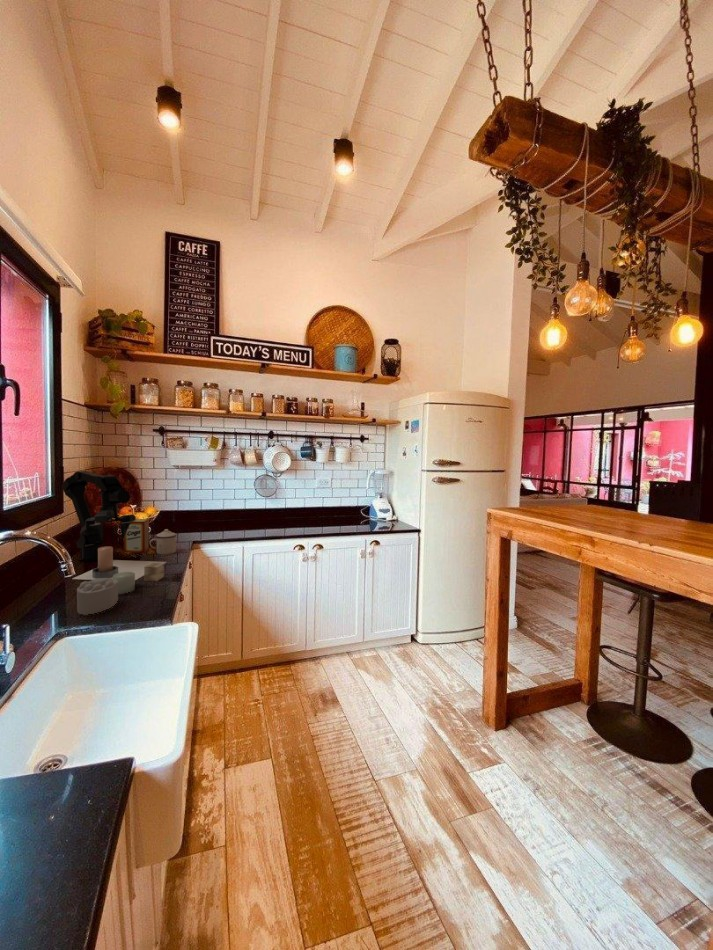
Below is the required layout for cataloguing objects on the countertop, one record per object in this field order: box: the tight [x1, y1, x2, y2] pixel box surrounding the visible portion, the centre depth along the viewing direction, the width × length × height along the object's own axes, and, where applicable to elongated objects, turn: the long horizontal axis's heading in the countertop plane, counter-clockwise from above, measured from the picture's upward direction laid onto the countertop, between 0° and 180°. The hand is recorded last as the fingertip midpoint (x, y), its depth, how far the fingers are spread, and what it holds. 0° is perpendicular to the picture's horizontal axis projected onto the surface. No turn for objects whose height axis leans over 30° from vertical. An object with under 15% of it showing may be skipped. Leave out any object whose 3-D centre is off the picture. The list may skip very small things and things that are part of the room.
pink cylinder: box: [97, 545, 114, 572], centre depth 159 cm, size 5×5×11 cm
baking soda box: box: [123, 518, 150, 554], centre depth 200 cm, size 10×6×16 cm
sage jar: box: [113, 572, 136, 595], centre depth 147 cm, size 7×7×6 cm
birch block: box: [143, 563, 165, 582], centre depth 157 cm, size 5×5×7 cm
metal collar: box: [92, 566, 118, 578], centre depth 159 cm, size 9×9×2 cm
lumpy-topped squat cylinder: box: [76, 578, 119, 616], centre depth 132 cm, size 10×13×9 cm
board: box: [72, 559, 167, 584], centre depth 166 cm, size 24×26×2 cm
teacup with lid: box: [149, 528, 177, 555], centre depth 199 cm, size 12×9×12 cm
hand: (112, 539), depth 176 cm, fingers open, 9 cm apart
